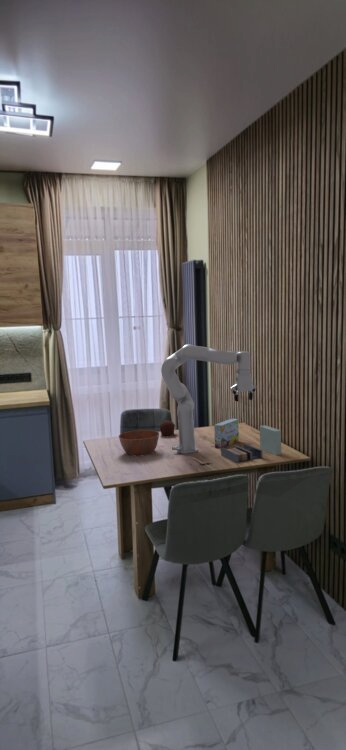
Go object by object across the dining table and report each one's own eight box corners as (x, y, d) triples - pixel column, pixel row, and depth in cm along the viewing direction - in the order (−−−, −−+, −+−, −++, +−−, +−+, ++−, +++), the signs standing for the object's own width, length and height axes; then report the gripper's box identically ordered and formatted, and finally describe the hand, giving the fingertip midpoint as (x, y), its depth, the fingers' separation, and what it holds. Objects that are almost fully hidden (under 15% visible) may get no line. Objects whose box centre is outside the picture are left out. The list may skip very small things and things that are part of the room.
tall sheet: (275, 456, 294) (275, 431, 292) (260, 450, 309) (259, 426, 307) (281, 455, 296) (280, 430, 294) (265, 449, 311) (265, 425, 309)
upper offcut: (238, 458, 285) (237, 455, 285) (225, 452, 298) (225, 449, 298) (247, 456, 288) (247, 453, 288) (234, 450, 301) (234, 447, 300)
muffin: (173, 437, 353) (172, 422, 351) (157, 437, 355) (157, 422, 354) (177, 433, 364) (176, 419, 363) (162, 432, 367) (161, 419, 365)
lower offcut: (238, 461, 286) (238, 458, 285) (225, 455, 298) (225, 452, 298) (247, 459, 288) (247, 456, 288) (234, 453, 301) (234, 450, 301)
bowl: (152, 445, 334) (151, 428, 333) (165, 454, 311) (164, 436, 309) (115, 450, 325) (114, 433, 324) (126, 460, 302) (125, 441, 301)
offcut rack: (236, 464, 283) (236, 455, 283) (221, 456, 300) (220, 447, 299) (262, 459, 290) (262, 450, 289) (245, 452, 306) (245, 443, 305)
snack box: (222, 449, 316) (221, 425, 314) (214, 448, 319) (213, 424, 318) (239, 441, 333) (238, 418, 331) (232, 440, 336) (231, 417, 334)
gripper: (234, 373, 298) (233, 402, 300) (259, 372, 304) (259, 400, 306) (227, 372, 305) (227, 400, 307) (252, 370, 311) (252, 398, 313)
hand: (243, 400), depth 307 cm, fingers open, 9 cm apart
